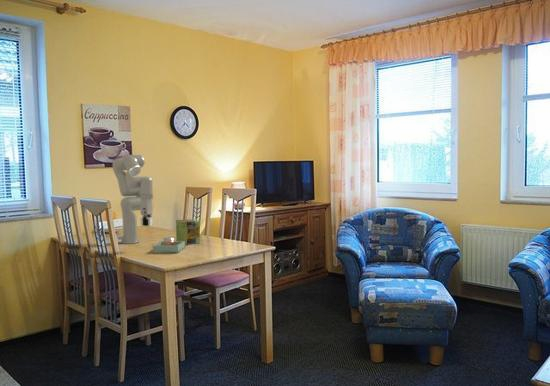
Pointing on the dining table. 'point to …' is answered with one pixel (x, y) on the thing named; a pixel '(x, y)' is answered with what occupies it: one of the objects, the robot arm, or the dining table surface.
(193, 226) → the protein box
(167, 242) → the clear brown jar
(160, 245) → the tote
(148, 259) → the dining table surface
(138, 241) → the robot arm
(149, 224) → the grey block
